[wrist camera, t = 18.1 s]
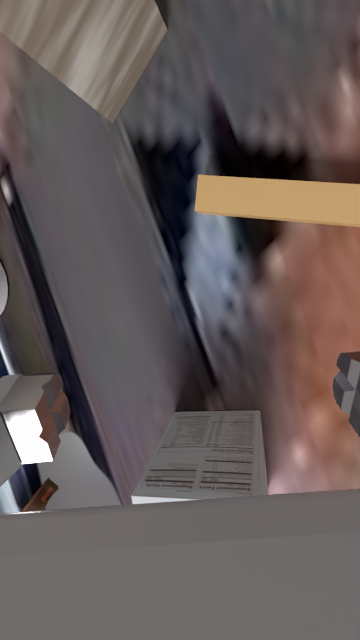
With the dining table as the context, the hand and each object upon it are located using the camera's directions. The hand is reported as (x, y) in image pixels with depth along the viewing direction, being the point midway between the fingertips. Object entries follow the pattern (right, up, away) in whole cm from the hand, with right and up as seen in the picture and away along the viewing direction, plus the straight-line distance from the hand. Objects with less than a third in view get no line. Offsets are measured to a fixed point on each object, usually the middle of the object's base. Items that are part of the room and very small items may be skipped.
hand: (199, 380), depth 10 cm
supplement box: (+6, -18, +40) cm, 44 cm away
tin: (-26, -31, +51) cm, 65 cm away
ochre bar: (+13, +16, +30) cm, 36 cm away
